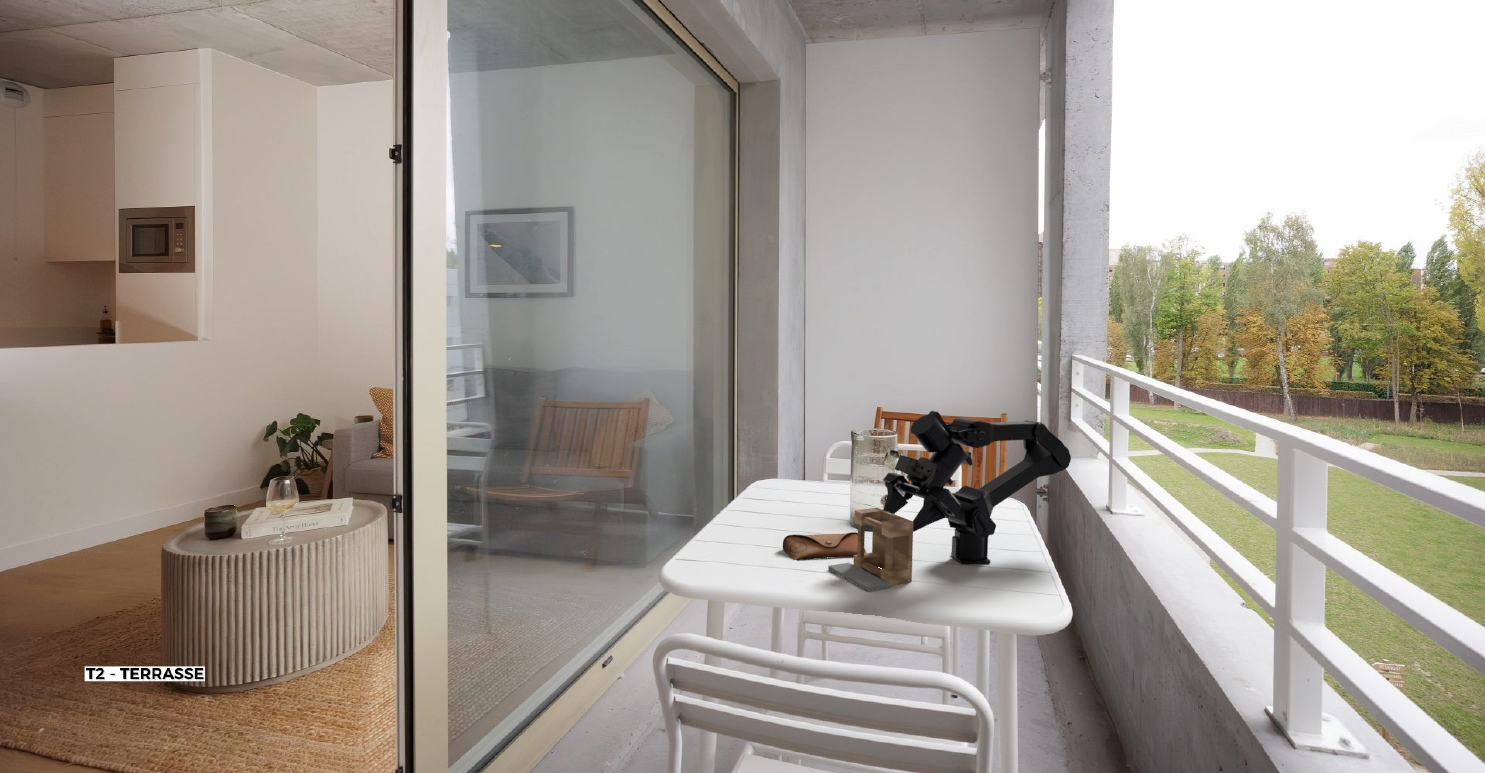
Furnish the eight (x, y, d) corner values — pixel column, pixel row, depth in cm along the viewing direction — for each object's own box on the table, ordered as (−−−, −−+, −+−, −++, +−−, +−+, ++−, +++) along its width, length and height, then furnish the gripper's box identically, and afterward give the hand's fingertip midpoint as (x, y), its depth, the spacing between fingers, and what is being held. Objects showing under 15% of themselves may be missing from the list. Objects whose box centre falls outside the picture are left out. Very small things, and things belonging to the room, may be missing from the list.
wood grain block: (875, 563, 162) (876, 507, 161) (911, 581, 152) (913, 521, 151) (853, 567, 160) (854, 510, 159) (888, 585, 149) (890, 524, 148)
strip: (848, 566, 161) (848, 562, 161) (889, 587, 148) (890, 583, 148) (828, 569, 158) (828, 565, 158) (868, 591, 146) (868, 587, 146)
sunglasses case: (792, 560, 164) (788, 529, 166) (784, 568, 170) (781, 538, 173) (873, 556, 167) (867, 525, 170) (862, 563, 174) (857, 534, 176)
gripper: (891, 434, 166) (846, 490, 162) (951, 448, 149) (902, 510, 145) (920, 468, 170) (876, 523, 166) (980, 485, 153) (934, 546, 149)
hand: (895, 524), depth 156 cm, fingers open, 9 cm apart
